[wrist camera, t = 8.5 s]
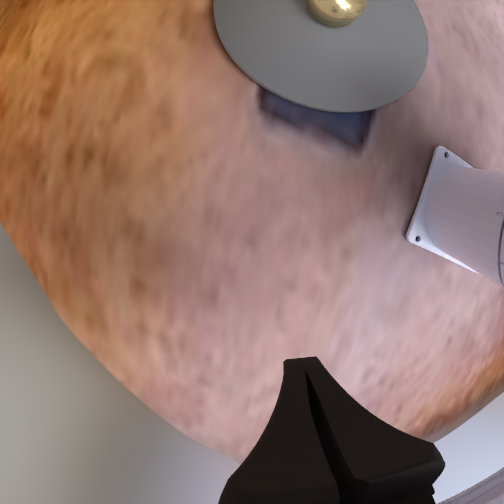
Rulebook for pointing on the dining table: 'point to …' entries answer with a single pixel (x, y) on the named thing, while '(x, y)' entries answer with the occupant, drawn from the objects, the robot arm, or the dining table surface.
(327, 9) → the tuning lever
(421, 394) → the dining table surface
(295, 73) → the dial plate
